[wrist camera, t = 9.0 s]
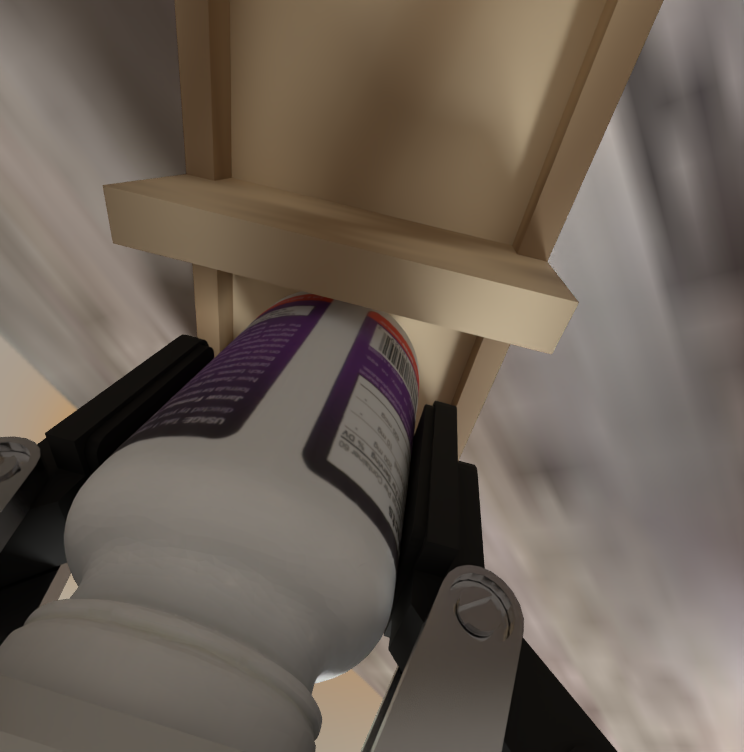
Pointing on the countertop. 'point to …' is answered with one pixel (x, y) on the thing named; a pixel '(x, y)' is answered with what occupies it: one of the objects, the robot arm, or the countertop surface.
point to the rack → (388, 166)
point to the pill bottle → (241, 535)
